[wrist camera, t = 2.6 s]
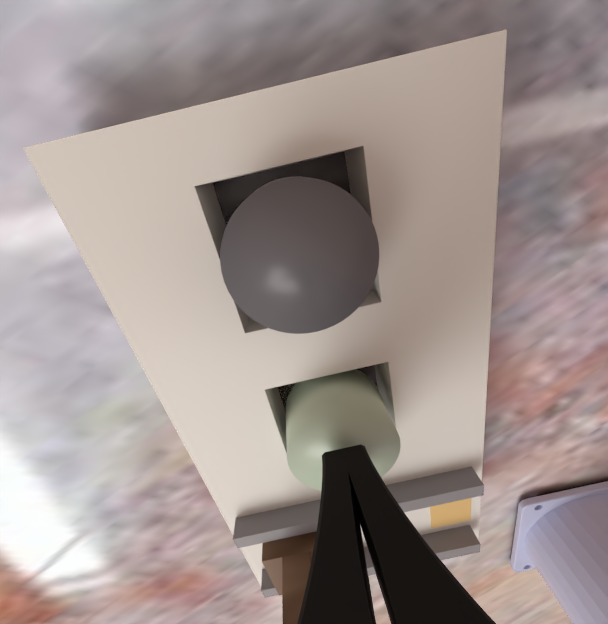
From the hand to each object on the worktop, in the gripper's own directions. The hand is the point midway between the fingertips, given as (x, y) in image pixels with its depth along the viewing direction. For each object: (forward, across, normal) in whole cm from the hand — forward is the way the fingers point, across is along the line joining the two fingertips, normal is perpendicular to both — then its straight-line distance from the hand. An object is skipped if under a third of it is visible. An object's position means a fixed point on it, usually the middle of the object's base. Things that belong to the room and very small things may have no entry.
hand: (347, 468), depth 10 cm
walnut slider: (+2, +3, +7) cm, 8 cm away
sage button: (+3, 0, 0) cm, 3 cm away
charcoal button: (+3, 0, -7) cm, 8 cm away
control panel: (+5, 0, 0) cm, 5 cm away
